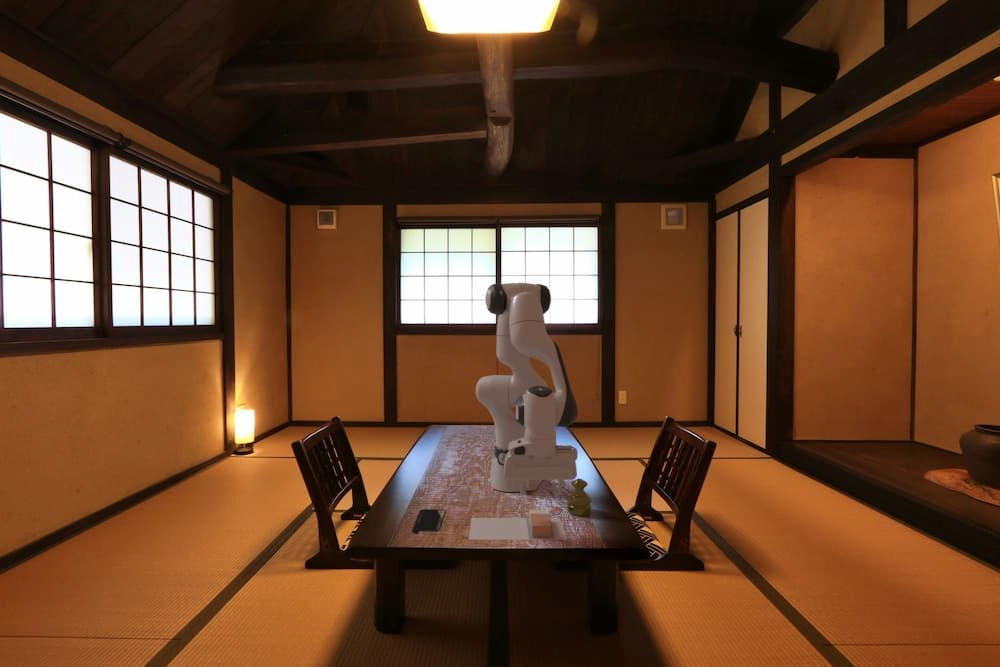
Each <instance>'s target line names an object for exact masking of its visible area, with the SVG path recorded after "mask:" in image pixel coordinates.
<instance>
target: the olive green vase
mask: <svg viewBox="0 0 1000 667" xmlns="http://www.w3.org/2000/svg"><path fill="white" fill-rule="evenodd" d="M570 485H572V487H573V488H574V490H573V491H572V492H571V493H570V494H568V495H567V497H566V499H567V500H566V501H567V503H566V506H567V507H566V509H567V510H566V511H567V512H568V513H569V514H570V515H572V516H577V517H585V516H589V515H590V514H591V513H592V507H593V506H592V497H591V496H590V495H589V494H588V493H587V492H586V491H585V488H586V487H587V486H588V485H589V484H588V481H586V480H584V479H582V478H577V479H574V480H572V481H571V484H570Z"/></svg>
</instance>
